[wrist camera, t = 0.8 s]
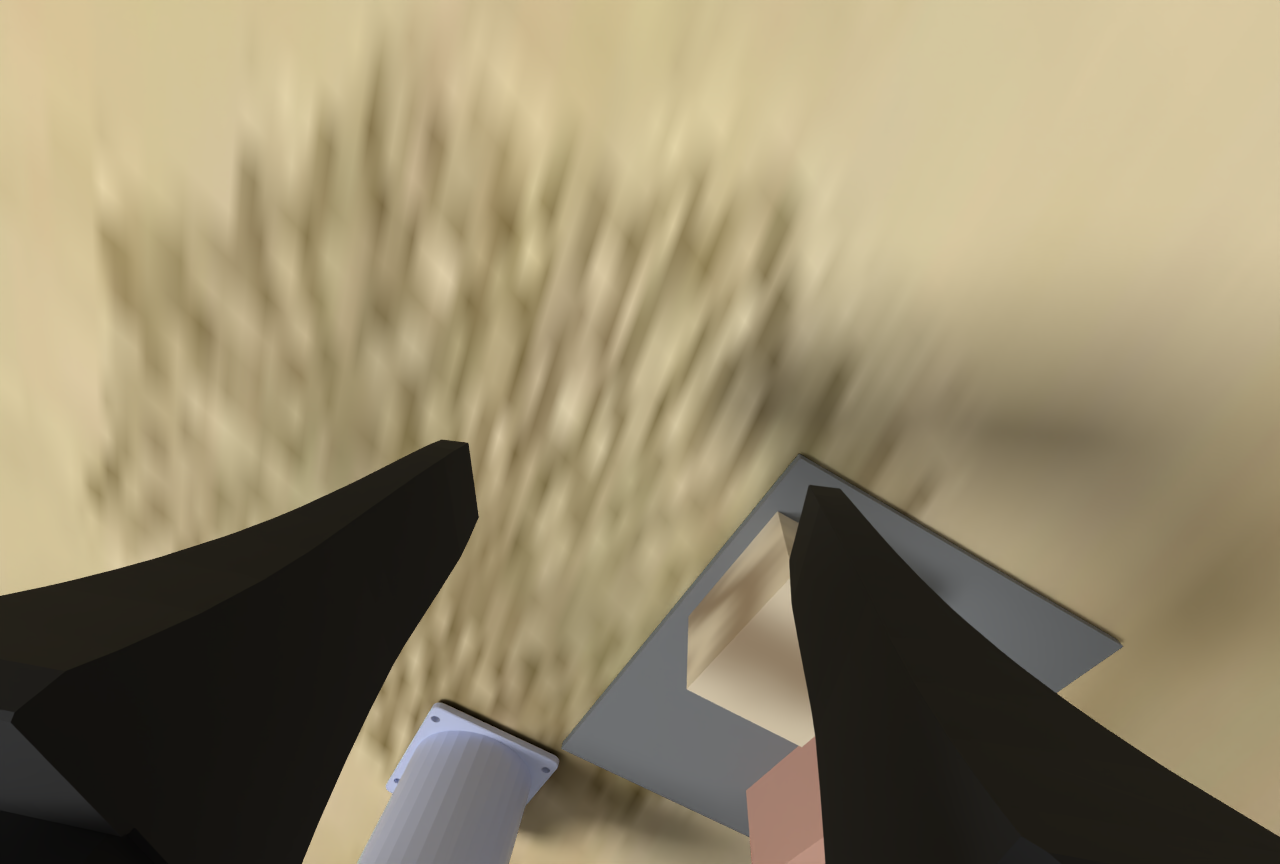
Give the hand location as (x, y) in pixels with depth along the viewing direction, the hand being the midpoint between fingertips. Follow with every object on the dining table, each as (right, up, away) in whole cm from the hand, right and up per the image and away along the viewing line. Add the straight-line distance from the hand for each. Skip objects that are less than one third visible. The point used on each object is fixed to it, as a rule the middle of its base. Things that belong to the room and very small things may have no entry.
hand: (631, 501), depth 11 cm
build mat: (+9, -12, +15) cm, 21 cm away
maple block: (+7, -6, +12) cm, 15 cm away
